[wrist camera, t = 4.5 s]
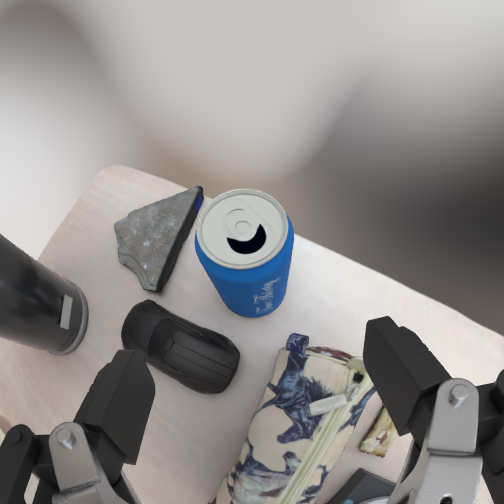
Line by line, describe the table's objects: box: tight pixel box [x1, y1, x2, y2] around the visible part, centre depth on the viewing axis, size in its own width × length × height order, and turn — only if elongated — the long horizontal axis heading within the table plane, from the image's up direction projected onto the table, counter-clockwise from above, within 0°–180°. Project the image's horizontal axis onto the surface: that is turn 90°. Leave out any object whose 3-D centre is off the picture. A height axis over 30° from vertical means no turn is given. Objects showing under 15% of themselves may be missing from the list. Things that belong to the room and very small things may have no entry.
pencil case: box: [208, 333, 376, 504], centre depth 15 cm, size 22×8×10 cm, turn 157°
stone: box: [114, 186, 204, 293], centre depth 30 cm, size 13×10×2 cm
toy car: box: [121, 299, 240, 394], centre depth 23 cm, size 6×12×4 cm, turn 67°
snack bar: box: [359, 406, 397, 458], centre depth 20 cm, size 10×2×3 cm
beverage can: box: [195, 189, 294, 318], centre depth 22 cm, size 6×6×12 cm
